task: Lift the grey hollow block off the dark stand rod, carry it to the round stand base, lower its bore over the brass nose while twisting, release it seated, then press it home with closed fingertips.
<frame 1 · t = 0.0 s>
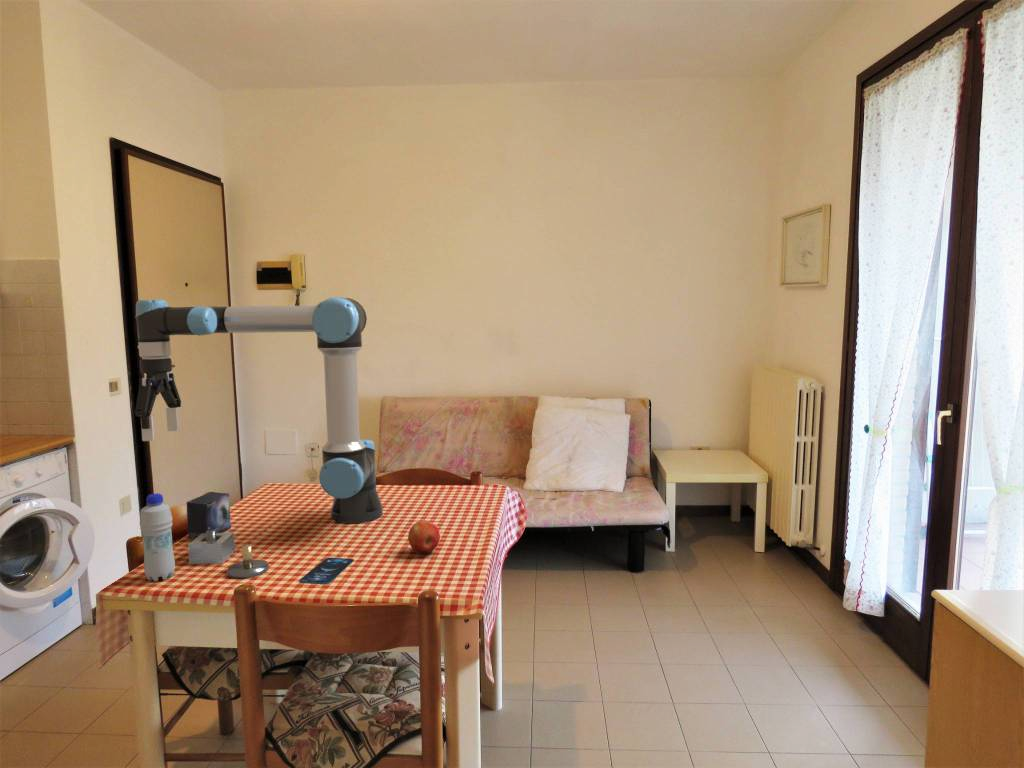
hand: (161, 435, 177), 28 cm above the table, fingers open, 13 cm apart
round stand base: (248, 570, 155), on the table
bottle: (160, 578, 152), on the table
apple: (424, 553, 166), on the table
small box: (210, 534, 181), on the table
grey hollow block: (212, 557, 164), on the table
stand rod: (212, 557, 164), on the table
smartphone: (327, 572, 155), on the table
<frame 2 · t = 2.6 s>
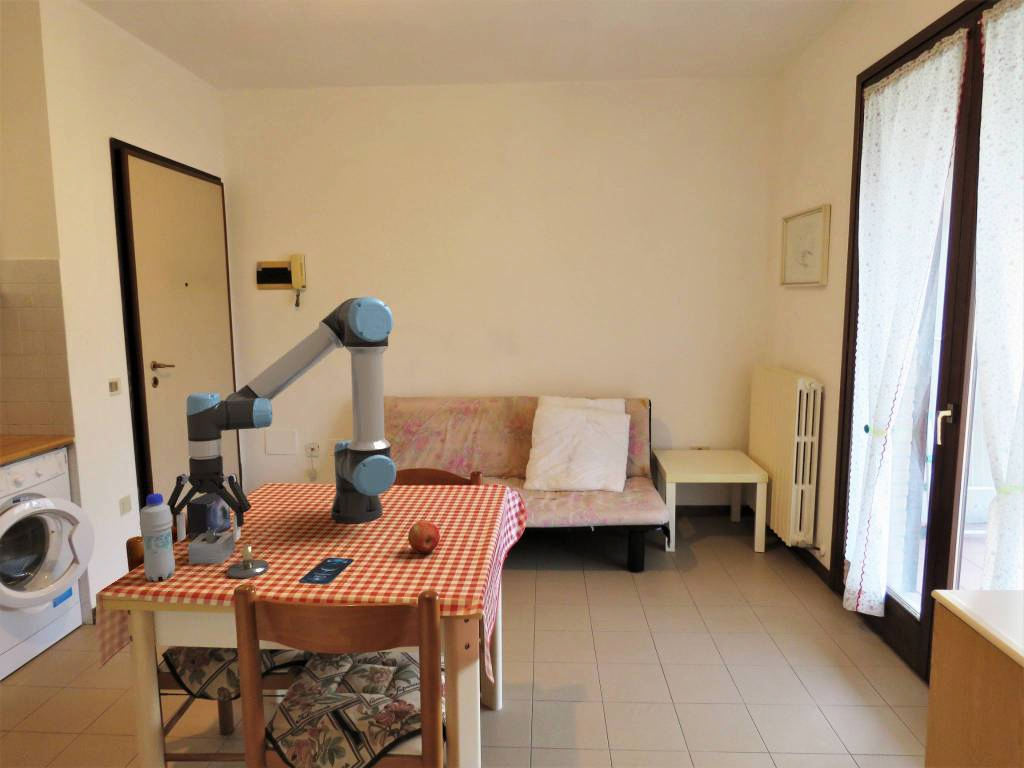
hand: (209, 539, 163), 5 cm above the table, fingers open, 13 cm apart
nothing on the table moved.
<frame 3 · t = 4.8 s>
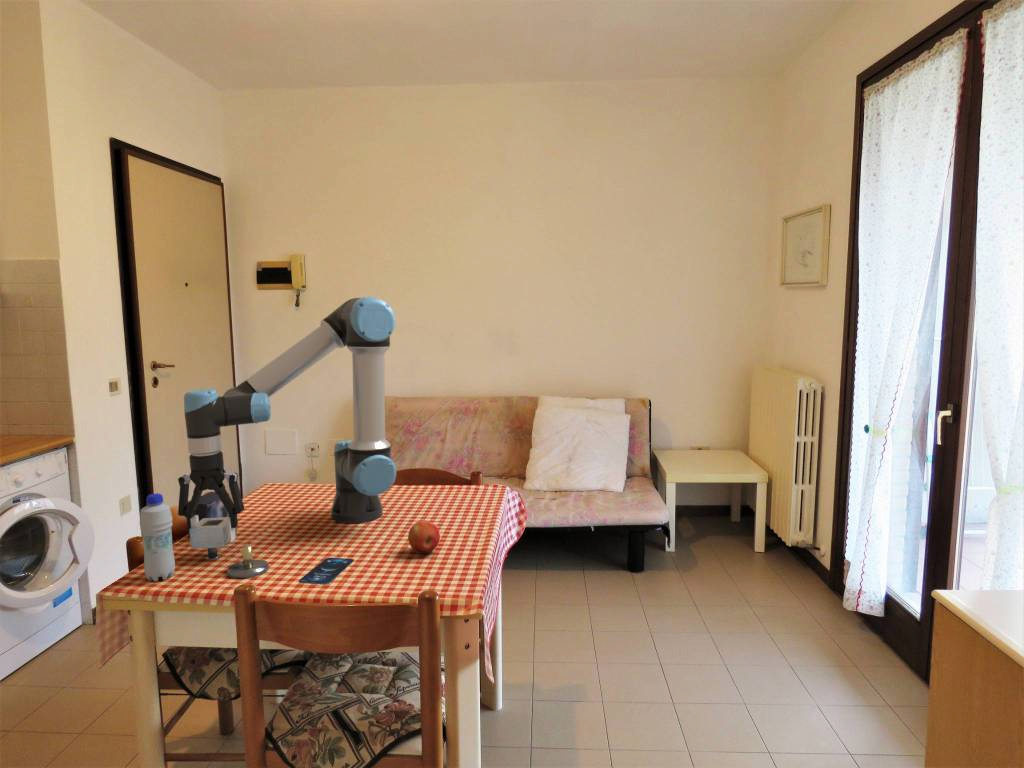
hand: (214, 540, 164), 4 cm above the table, fingers closed on grey hollow block, 8 cm apart
grey hollow block: (214, 542, 164), point 4 cm above the table, touching gripper
everything else where it was.
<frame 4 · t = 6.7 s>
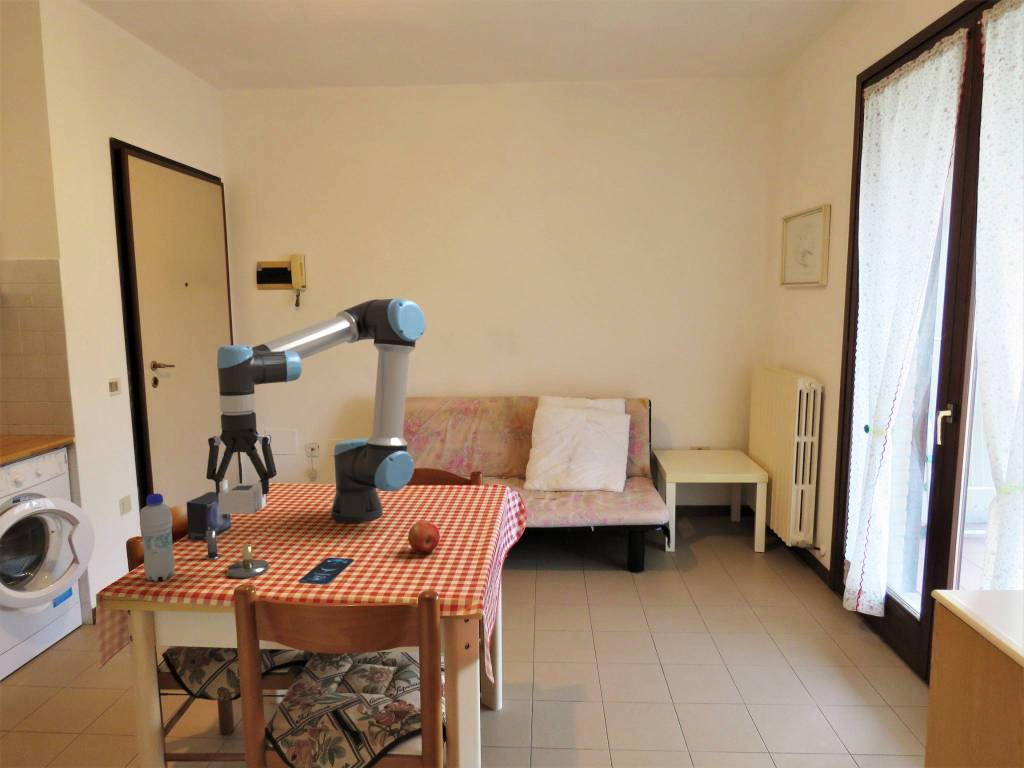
hand: (243, 507, 154), 16 cm above the table, fingers closed on grey hollow block, 8 cm apart
grey hollow block: (243, 508, 154), point 15 cm above the table, touching gripper
everything else where it was.
when the fingers open (1 cm above the table, at t = 8.8 s): grey hollow block stays where it is, resting on round stand base.
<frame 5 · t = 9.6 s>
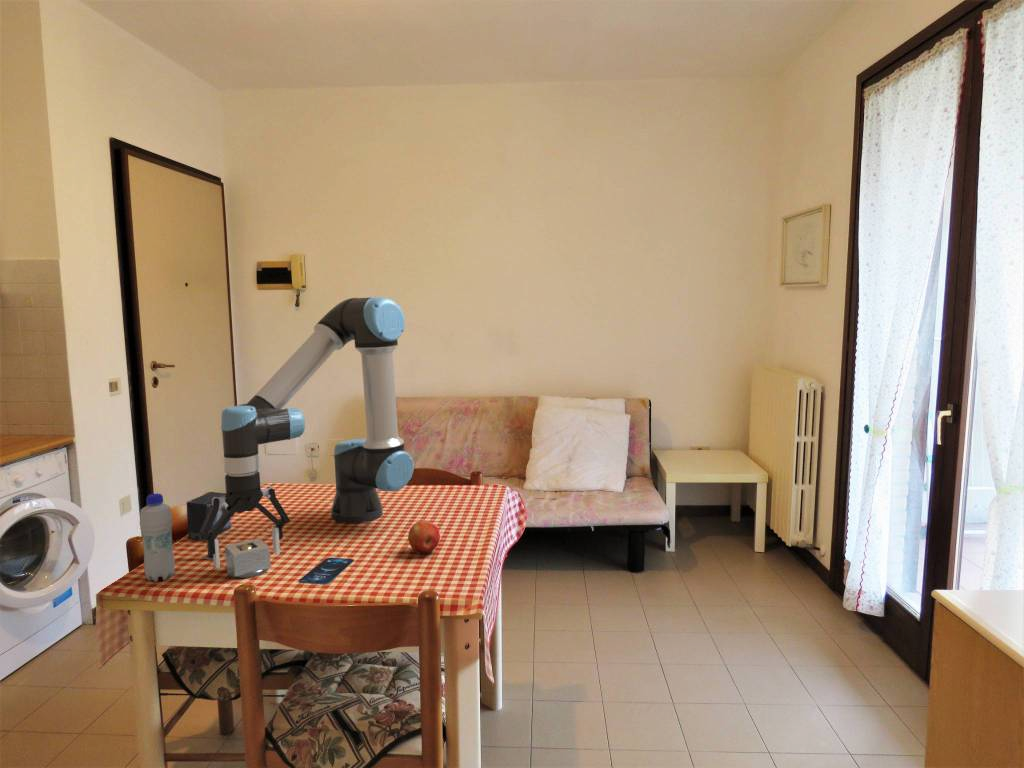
hand: (247, 559, 155), 3 cm above the table, fingers open, 13 cm apart
grey hollow block: (248, 566, 155), point 1 cm above the table, touching round stand base
everything else where it was.
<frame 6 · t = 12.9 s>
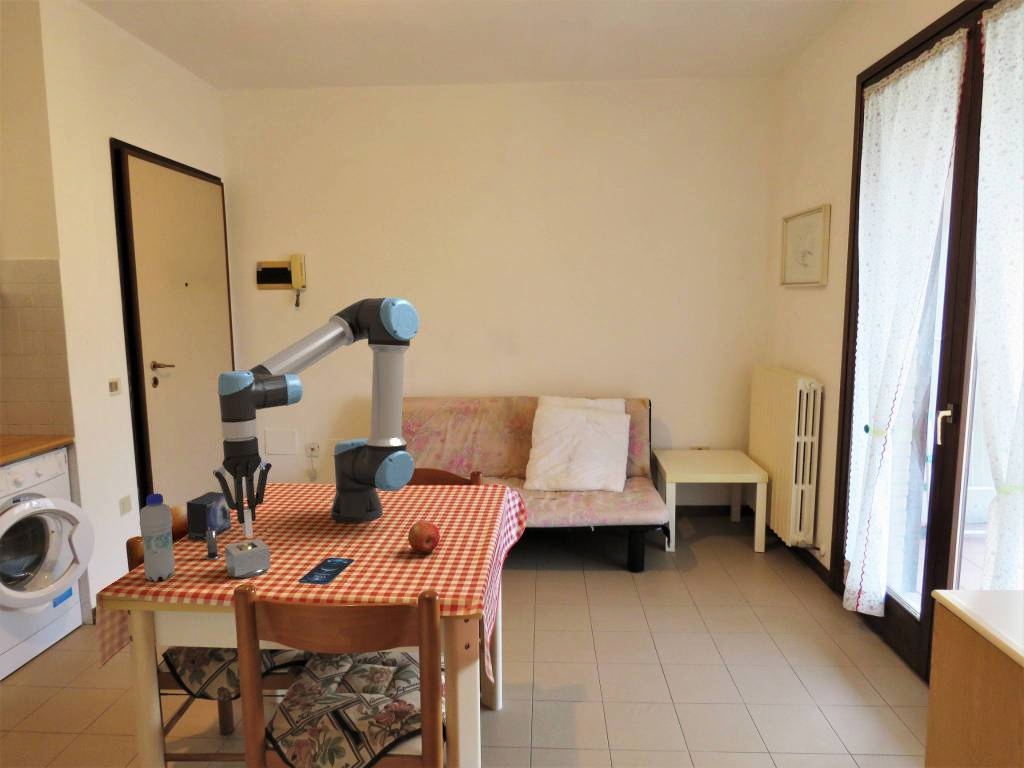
hand: (248, 535, 155), 9 cm above the table, fingers closed
nothing on the table moved.
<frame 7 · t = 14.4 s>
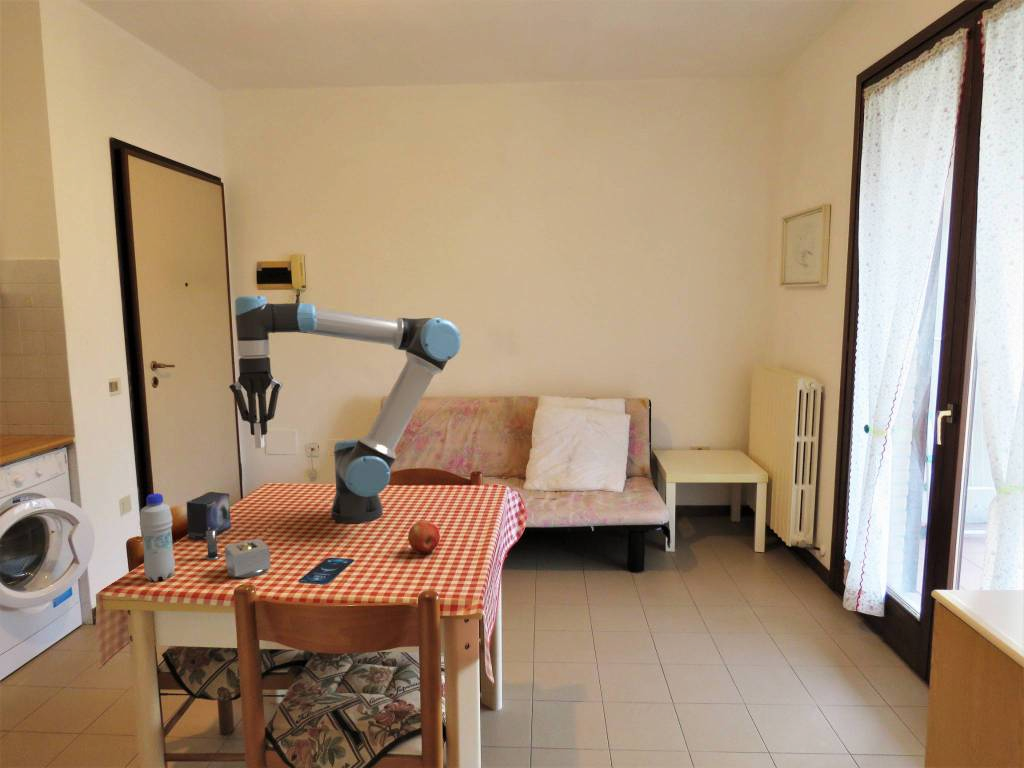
hand: (260, 447, 170), 26 cm above the table, fingers closed
nothing on the table moved.
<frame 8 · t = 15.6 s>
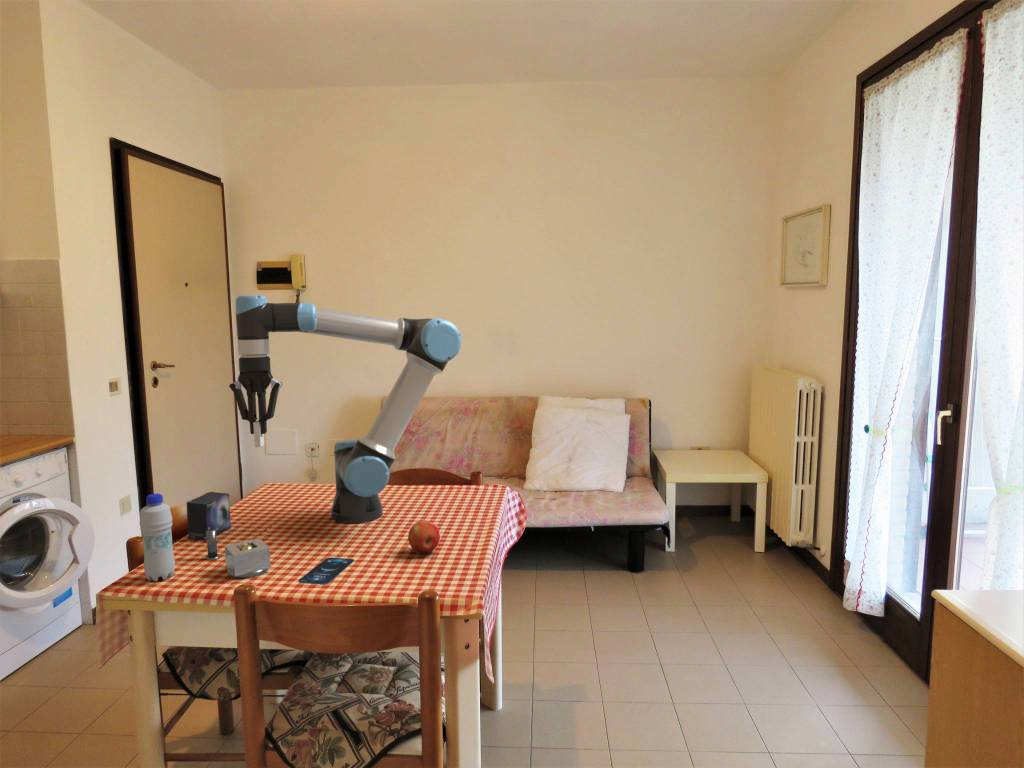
hand: (259, 446, 170), 26 cm above the table, fingers closed
nothing on the table moved.
at the end: grey hollow block 0.0 cm off-centre on the round stand base, point 1.0 cm above the round stand base's base; the gripper is holding nothing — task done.
